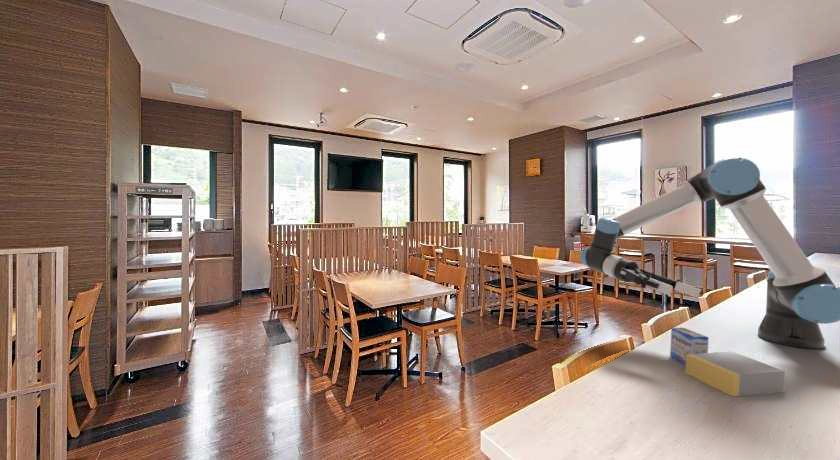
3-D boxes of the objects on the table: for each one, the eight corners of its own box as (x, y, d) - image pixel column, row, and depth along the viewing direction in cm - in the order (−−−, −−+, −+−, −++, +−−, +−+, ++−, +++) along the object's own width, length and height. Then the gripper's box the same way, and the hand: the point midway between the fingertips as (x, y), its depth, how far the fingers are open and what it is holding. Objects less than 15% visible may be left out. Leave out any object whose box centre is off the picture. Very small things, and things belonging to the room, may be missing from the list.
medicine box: (669, 356, 102) (670, 327, 102) (683, 356, 103) (684, 327, 102) (692, 368, 94) (693, 336, 94) (708, 367, 95) (709, 336, 94)
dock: (731, 369, 94) (731, 351, 93) (783, 392, 82) (784, 371, 82) (685, 372, 92) (686, 354, 91) (732, 396, 80) (733, 375, 79)
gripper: (640, 281, 127) (705, 306, 108) (592, 275, 117) (654, 302, 98) (647, 261, 126) (713, 283, 107) (598, 254, 116) (662, 276, 97)
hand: (685, 292), depth 102 cm, fingers open, 13 cm apart
